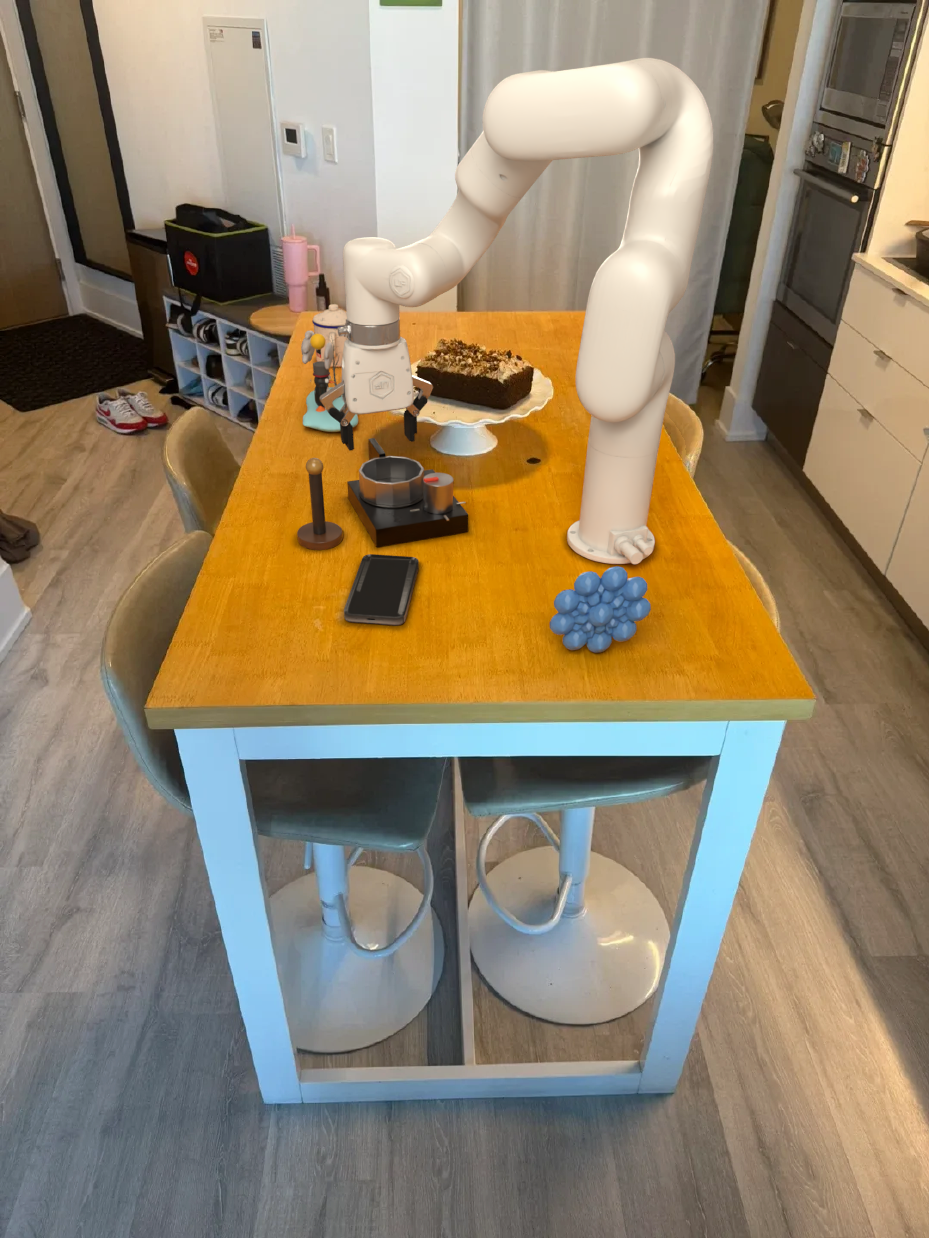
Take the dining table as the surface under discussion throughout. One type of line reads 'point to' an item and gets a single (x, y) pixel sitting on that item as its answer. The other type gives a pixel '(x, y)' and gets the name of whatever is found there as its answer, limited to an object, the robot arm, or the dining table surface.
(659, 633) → the dining table surface
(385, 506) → the burner
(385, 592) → the phone
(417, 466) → the egg ring
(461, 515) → the hotplate
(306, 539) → the peg stand
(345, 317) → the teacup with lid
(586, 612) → the blue knobbed flower shape
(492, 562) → the dining table surface
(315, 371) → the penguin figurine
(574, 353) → the dining table surface
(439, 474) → the hotplate knob
